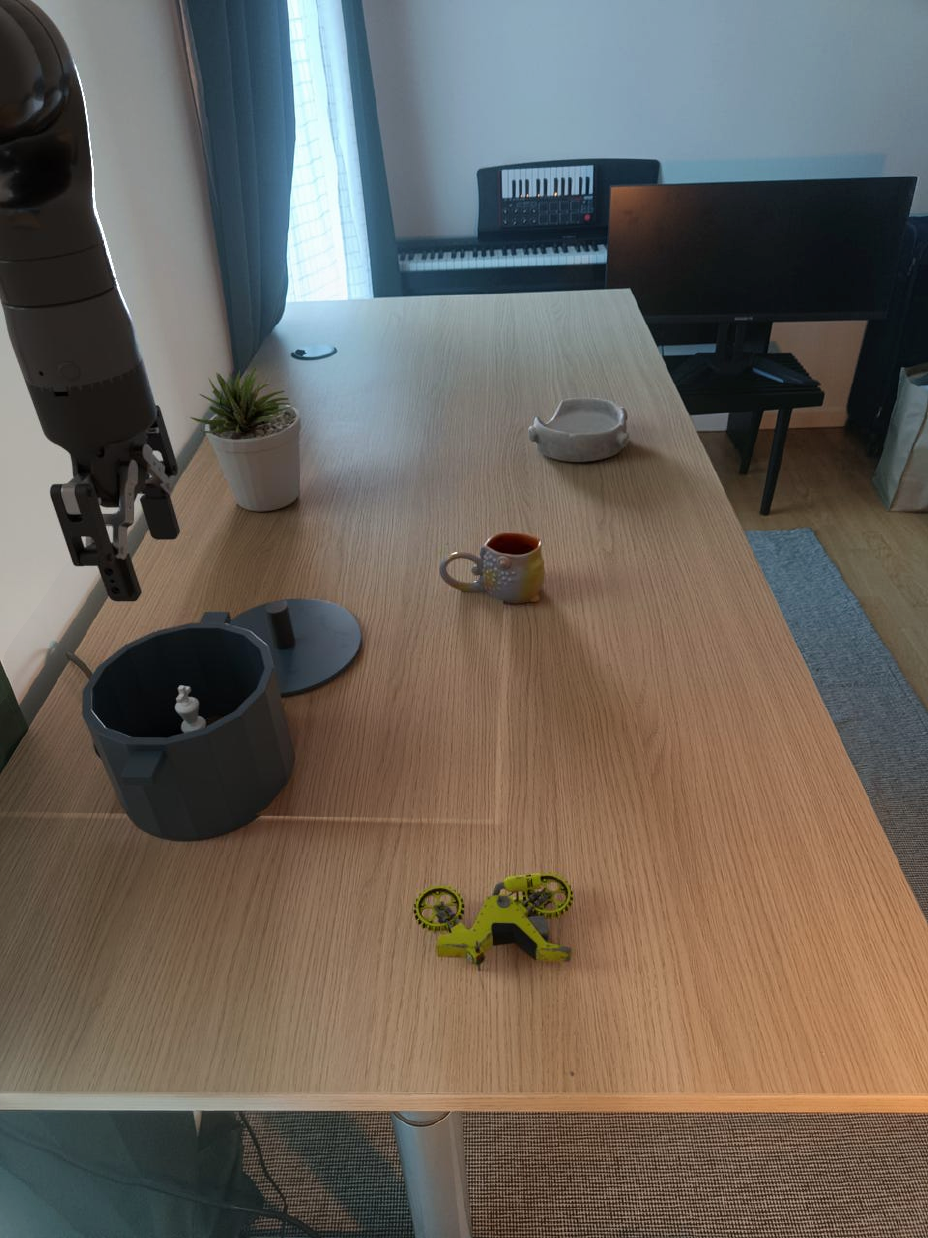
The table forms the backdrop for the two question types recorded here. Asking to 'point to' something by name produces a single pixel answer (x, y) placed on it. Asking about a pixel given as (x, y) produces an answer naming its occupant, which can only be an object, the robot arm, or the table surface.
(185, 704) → the chess piece
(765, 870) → the table surface
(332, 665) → the lid
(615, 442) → the dish
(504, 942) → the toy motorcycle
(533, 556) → the mug
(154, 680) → the pot
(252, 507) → the potted plant
